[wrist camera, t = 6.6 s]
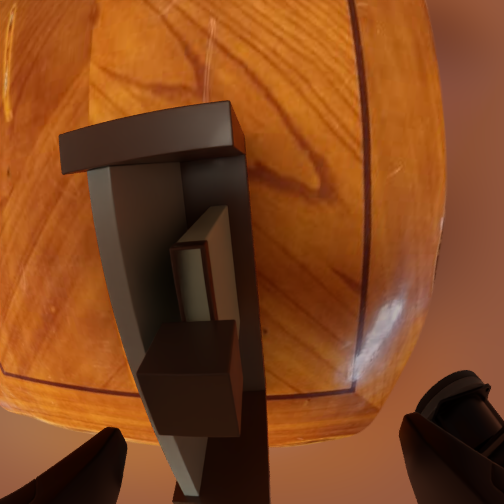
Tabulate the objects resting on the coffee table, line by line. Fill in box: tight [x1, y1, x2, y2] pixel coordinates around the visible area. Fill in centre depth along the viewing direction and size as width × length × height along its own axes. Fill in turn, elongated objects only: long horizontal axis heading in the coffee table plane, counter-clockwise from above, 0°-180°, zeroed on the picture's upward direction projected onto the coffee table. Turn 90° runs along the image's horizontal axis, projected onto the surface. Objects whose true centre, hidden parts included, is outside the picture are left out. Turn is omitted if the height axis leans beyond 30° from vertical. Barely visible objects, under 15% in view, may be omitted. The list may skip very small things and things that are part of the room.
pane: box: [136, 205, 243, 437], centre depth 13 cm, size 2×7×11 cm, turn 5°
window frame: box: [59, 100, 271, 504], centre depth 15 cm, size 5×18×11 cm, turn 5°
